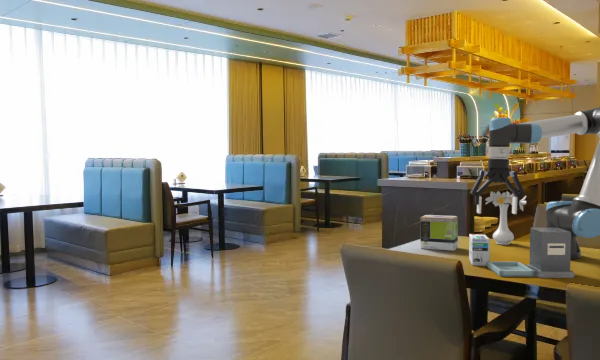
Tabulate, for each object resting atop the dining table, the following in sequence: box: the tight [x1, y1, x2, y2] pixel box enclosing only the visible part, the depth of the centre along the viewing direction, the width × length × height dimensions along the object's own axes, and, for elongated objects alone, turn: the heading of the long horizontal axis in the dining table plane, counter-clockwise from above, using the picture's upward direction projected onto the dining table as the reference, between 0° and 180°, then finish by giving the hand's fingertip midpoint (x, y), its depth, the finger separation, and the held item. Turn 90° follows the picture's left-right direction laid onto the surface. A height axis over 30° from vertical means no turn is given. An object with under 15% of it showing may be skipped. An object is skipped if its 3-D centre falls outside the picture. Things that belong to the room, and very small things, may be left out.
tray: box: [486, 261, 536, 278], centre depth 188 cm, size 12×15×2 cm
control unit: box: [525, 227, 575, 279], centre depth 184 cm, size 12×12×16 cm
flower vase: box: [484, 191, 527, 246], centre depth 241 cm, size 13×18×25 cm
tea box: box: [419, 214, 459, 252], centre depth 232 cm, size 15×10×15 cm, turn 62°
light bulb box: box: [468, 233, 491, 267], centre depth 202 cm, size 11×7×11 cm, turn 168°
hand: (496, 213), depth 197 cm, fingers open, 13 cm apart
